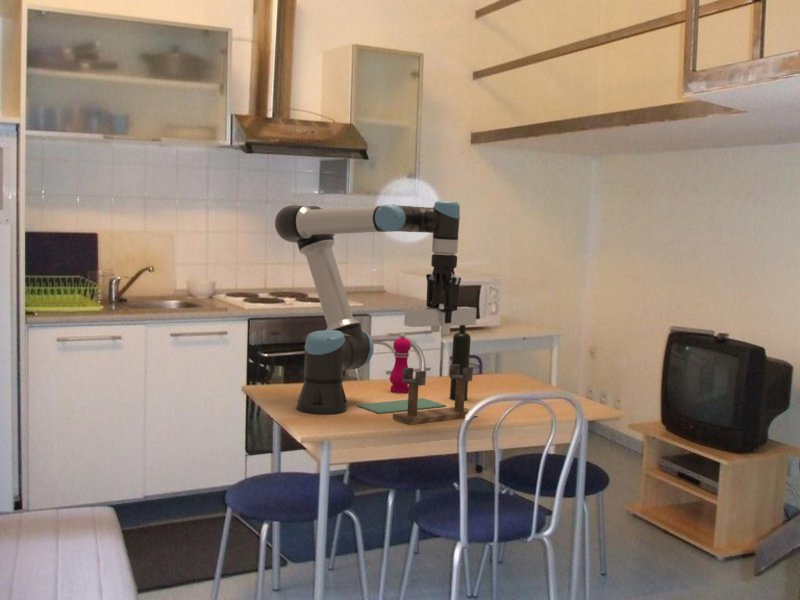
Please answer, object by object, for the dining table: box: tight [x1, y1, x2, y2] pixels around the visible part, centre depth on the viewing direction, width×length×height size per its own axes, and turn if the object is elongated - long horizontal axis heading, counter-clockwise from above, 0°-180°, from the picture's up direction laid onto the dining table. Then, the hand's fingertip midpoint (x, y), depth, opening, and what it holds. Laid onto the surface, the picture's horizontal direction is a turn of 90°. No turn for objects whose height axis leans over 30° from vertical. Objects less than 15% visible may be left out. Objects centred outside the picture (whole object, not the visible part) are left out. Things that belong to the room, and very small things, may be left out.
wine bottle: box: [449, 325, 472, 401], centre depth 291 cm, size 6×6×30 cm
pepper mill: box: [389, 333, 412, 394], centre depth 299 cm, size 7×7×20 cm
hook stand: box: [392, 364, 474, 426], centre depth 261 cm, size 26×8×15 cm, turn 127°
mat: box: [356, 397, 447, 415], centre depth 276 cm, size 26×12×1 cm, turn 127°
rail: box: [403, 306, 478, 328], centre depth 259 cm, size 24×4×5 cm, turn 127°
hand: (440, 332), depth 260 cm, fingers closed on rail, 4 cm apart
